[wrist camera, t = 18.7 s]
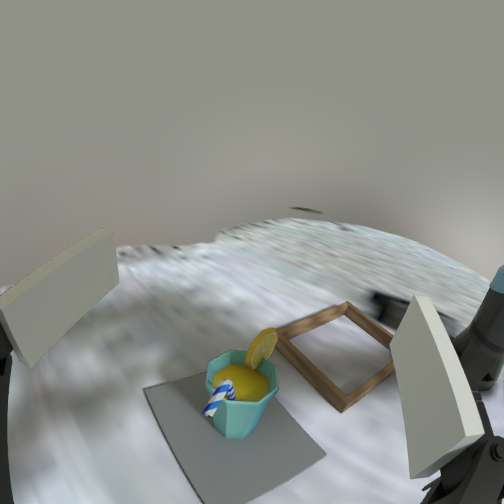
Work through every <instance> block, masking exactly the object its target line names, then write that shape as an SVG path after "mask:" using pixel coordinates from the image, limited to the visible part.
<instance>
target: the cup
mask: <svg viewBox="0 0 504 504" xmlns="http://www.w3.org/2000/svg"><path fill="white" fill-rule="evenodd" d="M277 341H278V335H277V330H276V329H274V328H268V329H265V330H262V331H261V333H260V334H259V335H258V336H257V337H256V339H255V340H254V341H253V342H252V343H251V345H250V348H249V350H248V351H237V350H228V351H227V352H225V353H223V354H221V355H220V356H218V357H216V358H214V359H213V360H211V361H209V362H208V369H207V376H206V388H207V390H208V391H209V392H210V400H209V402H208V404H207V405H206V407H205V409H204V410H203V412H202V413H203V414H204V415H206V416H207V417H210V418H211V417H212V416H213V420H214V427H215V429H216V430H218V431H219V432H220V433H221V434H222V435H223V436H224V437H225V438H230V439H243V438H245V437H246V436H247V435H248V434H250V433H251V432H252V431H254V429H255V427H256V425H257V424H258V422H259V420H260V418H261V416H262V414H263V412H264V410H265V409H266V407H267V405H268V403H269V401H270V399H271V397H272V396H274V395H275V394H276V393H277V391H278V389H279V386H278V376H277V367H276V366H274V365H273V364H272V363H270V362H269V361H268V358H269V357H270V356H271V355H272V353H273V351H274V348H275V346H276V343H277Z"/></svg>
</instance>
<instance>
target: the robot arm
mask: <svg viewBox="0 0 504 504" xmlns="http://www.w3.org/2000/svg"><path fill="white" fill-rule="evenodd" d="M118 283H119V275H118V267H117V258H116V248H115V237H114V231H112V230H107V229H103V228H102V229H100V230H98V231H97V232H95V233H93V234H91V235H90V236H88V237H86V238H85V239H83V240H82V241H80V242H78V243H77V244H75V245H73V246H72V247H70V248H68V249H67V250H65V251H64V252H62V253H61V254H59V255H57V256H56V257H54V258H53V259H51V260H50V261H48V262H47V263H45V264H44V265H42V266H41V267H39V268H38V269H37V270H35V271H34V272H32V273H31V274H29V275H28V276H26V277H25V278H23V279H22V280H21V281H19V282H18V283H16V284H15V285H14V286H12V287H11V288H9V289H8V290H7V291H5V292H4V293H3V294H2V295H0V504H14V501H13V495H12V489H11V482H10V473H9V463H8V445H7V413H8V395H9V384H10V374H11V367H12V356H11V354H10V352H11V351H12V350H14V352H15V353H16V355H17V357H18V359H19V361H20V362H22V363H23V364H24V365H25V366H27V367H28V368H29V369H31V368H32V367H33V366H34V365H35V364H36V363H37V362H38V361H39V360H40V359H41V358H42V357H43V356H44V355H45V354H46V353H47V352H48V350H49V349H50V348H51V347H52V346H53V345H54V344H55V343H56V342H57V341H58V340H59V339H60V338H61V337H62V336H63V335H64V334H65V333H66V332H67V331H68V330H69V329H70V328H71V327H72V326H73V325H74V324H75V323H76V322H78V321H79V320H80V319H81V318H82V317H83V316H84V315H85V314H86V313H87V312H88V311H89V310H90V309H91V308H92V307H93V306H94V305H95V304H96V303H98V302H99V301H100V300H101V299H102V298H103V297H104V296H105V295H106V294H107V293H108V292H109V291H111V290H112V289H113V288H114V287H115V286H116V285H117V284H118ZM389 345H390V349H391V354H392V358H393V363H394V367H395V372H396V377H397V382H398V387H399V393H400V399H401V404H402V411H403V417H404V424H405V432H406V440H407V449H408V459H409V471H410V479H416V478H424V477H429V476H431V475H432V474H434V473H435V472H437V471H438V470H440V472H441V476H440V477H439V478H437V479H436V480H434V481H432V482H431V483H429V484H428V485H426V486H425V487H424V488H423V489H422V491H425V490H427V489H428V488H430V487H431V489H430V490H429V492H427V495H426V496H425V498H424V499H423V501H422V502H421V503H420V504H502V499H503V498H504V438H502V437H500V436H494V434H493V431H492V428H491V424H490V421H489V418H488V415H487V412H486V409H485V406H484V403H483V402H482V398H481V395H480V393H478V391H482V390H487V389H489V388H490V387H491V386H492V385H493V384H494V382H495V381H496V380H497V378H498V377H499V374H500V372H501V369H502V367H503V364H504V265H503V266H501V267H500V268H499V269H498V271H497V273H496V275H495V277H494V279H493V281H492V282H491V283H490V288H489V290H488V292H487V294H486V296H485V298H484V300H483V302H482V304H481V306H480V308H479V309H478V311H477V313H476V315H475V317H474V319H473V320H472V322H471V324H470V325H469V326H468V327H467V328H466V329H465V330H464V331H462V332H461V333H460V334H459V335H458V336H457V337H456V338H455V339H453V341H452V342H451V340H450V338H449V336H448V334H447V332H446V330H445V328H444V326H443V324H442V322H441V319H440V317H439V315H438V314H437V312H436V310H435V308H434V306H433V304H432V302H431V300H430V298H429V297H425V296H420V295H415V294H414V296H413V298H412V300H411V302H410V305H409V307H408V309H407V311H406V313H405V315H404V317H403V319H402V321H401V323H400V325H399V327H398V329H397V331H396V333H395V335H394V337H393V339H392V341H391V343H390V344H389Z"/></svg>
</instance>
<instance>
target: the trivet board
mask: <svg viewBox="0 0 504 504" xmlns="http://www.w3.org/2000/svg"><path fill="white" fill-rule="evenodd" d="M206 376H207V372H204V373H200V374H197V375H194V376H191V377H188V378H185V379H181V380H178V381H175V382H171V383H168V384H164V385H161V386H157V387H154V388H150V389H146V390H145V393H146V396H147V398H148V400H149V403H150V405H151V407H152V409H153V412H154V414H155V416H156V418H157V420H158V422H159V425H160V427H161V429H162V431H163V433H164V435H165V437H166V439H167V441H168V443H169V445H170V447H171V448H172V450H173V452H174V454H175V456H176V458H177V460H178V461H179V463H180V465H181V467H182V468H183V470H184V472H185V474H186V475H187V477H188V479H189V480H190V482H191V484H192V485H193V487H194V488H195V490H196V492H197V493H198V495H199V496H200V498H201V499H202V501H203V502H204V504H245V503H247V502H249V501H251V500H254V499H256V498H257V497H259V496H261V495H263V494H265V493H267V492H269V491H271V490H273V489H274V488H276V487H278V486H280V485H281V484H283V483H285V482H287V481H288V480H290V479H292V478H293V477H295V476H297V475H298V474H300V473H301V472H303V471H304V470H306V469H308V468H309V467H311V466H312V465H314V464H315V463H317V462H318V461H319V460H321V459H322V458H324V457H325V456H326V455H327V454H326V453H325V452H324V450H323V449H322V448H321V447H320V446H319V445H318V444H317V443H316V442H315V441H314V440H313V439H312V438H311V437H310V436H309V435H308V434H307V433H306V431H305V430H304V429H303V428H302V427H301V426H300V425H299V424H298V423H297V422H296V421H295V419H294V418H293V417H292V416H291V415H290V414H289V413H288V412H287V410H286V409H285V408H284V407H283V406H282V405H281V404H280V402H279V401H278V400H277V399H276V398H275V397H274V396H272V397H271V399H270V401H269V403H268V405H267V407H266V409H265V410H264V412H263V414H262V416H261V418H260V420H259V422H258V424H257V425H256V427H255V429H254V431H252V432H251V433H250V434H248V435H247V436H246V437H245V438H243V439H230V438H225V437H224V436H223V435H222V434H221V433H220V432H219V431H218V430H216V429H215V427H214V420H213V416H212V417H211V418H210V417H207V416H206V415H204V414H203V413H202V412H203V410H204V409H205V407H206V405H207V404H208V402H209V400H210V392H209V391H208V390H207V388H206Z"/></svg>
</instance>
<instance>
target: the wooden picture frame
mask: <svg viewBox="0 0 504 504" xmlns="http://www.w3.org/2000/svg"><path fill="white" fill-rule="evenodd" d="M344 314H345V315H346V316H347V317H349V318H350V319H351V320H352V321H354V322H355V323H356V324H358V325H359V326H360V327H362V328H363V329H364V330H365V331H367V332H368V333H369V334H371V335H372V336H373V337H374V338H376V339H377V340H378V341H380V342H381V343H382V344H383V345H385V346H386V347H387V348H389V349H390V345H389V344H390V343H391V341H392V339H393V337H394V335H392V334H391V333H390V332H388V331H387V330H386V329H384V328H383V327H382V326H380V325H379V324H378V323H376V322H375V321H374V320H372V319H371V318H370V317H368V316H367V315H366V314H364V313H363V312H362V311H360V310H359V309H357V308H356V307H355V306H353V305H352V304H351V303H349V302H348V301H347V302H345V303H342V304H340V305H338V306H336V307H333V308H331V309H329V310H326V311H324V312H321V313H319V314H317V315H314V316H312V317H309V318H307V319H304V320H302V321H299V322H297V323H294V324H291V325H289V326H286V327H284V328H281V329H278V330H277V335H278V341H277V343H276V346H275V347H276V348H277V349H278V350H279V351H280V352H281V353H282V354H283V355H284V356H285V357H286V358H287V359H288V361H289V362H290V363H291V364H292V365H293V366H294V367H295V368H296V369H297V370H298V371H299V372H300V373H301V374H302V375H303V376H304V377H305V378H306V379H307V380H308V381H309V382H310V383H311V384H312V385H313V386H314V387H315V388H316V389H317V390H318V391H319V392H320V393H321V394H322V395H323V396H324V397H325V398H326V399H327V400H328V401H329V402H330V403H331V404H332V405H333V406H334V407H335V408H336V409H337V410H338V411H339V412H340V413H342V412H344V411H345V410H347V409H348V408H349V407H351V406H352V405H353V404H355V403H356V402H357V401H358V400H360V399H361V398H362V397H364V396H365V395H366V394H367V393H369V392H370V391H371V390H372V389H373V388H375V387H376V386H377V385H378V384H379V383H381V382H382V381H383V380H384V379H385V378H386V377H388V376H389V375H390V374H391V373H392V372H393V371H394V370H395V367H394V363H393V361H392V362H391V363H390V364H389V365H387V366H386V367H385V368H384V369H383V370H381V371H380V372H379V373H378V374H377V375H375V376H374V377H373V378H372V379H370V380H369V381H368V382H366V383H365V384H364V385H362V386H361V387H360V388H359V389H357V390H356V391H354V392H353V393H352V394H350V395H349V396H348V397H347V396H346V395H345V394H344V393H343V392H342V391H341V390H340V389H339V388H337V387H336V386H335V385H334V384H333V383H332V382H331V381H330V380H329V379H328V378H327V377H326V376H325V375H324V374H323V373H322V372H321V371H320V370H318V369H317V368H316V367H315V366H314V365H313V364H312V363H311V362H310V361H309V360H308V359H307V358H306V357H305V356H304V355H303V354H302V353H301V352H300V351H299V350H298V349H297V348H296V347H295V346H294V345H293V344H292V343H291V342H290V341H289V340H288V339H291V338H293V337H296V336H298V335H300V334H303V333H305V332H307V331H309V330H312V329H314V328H316V327H319V326H321V325H323V324H325V323H327V322H329V321H332V320H334V319H336V318H338V317H340V316H342V315H344ZM390 350H391V349H390Z"/></svg>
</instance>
